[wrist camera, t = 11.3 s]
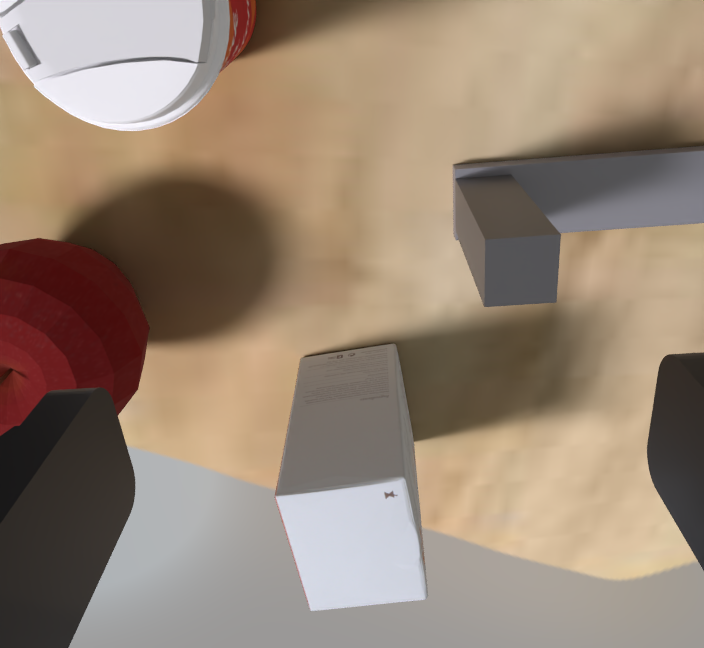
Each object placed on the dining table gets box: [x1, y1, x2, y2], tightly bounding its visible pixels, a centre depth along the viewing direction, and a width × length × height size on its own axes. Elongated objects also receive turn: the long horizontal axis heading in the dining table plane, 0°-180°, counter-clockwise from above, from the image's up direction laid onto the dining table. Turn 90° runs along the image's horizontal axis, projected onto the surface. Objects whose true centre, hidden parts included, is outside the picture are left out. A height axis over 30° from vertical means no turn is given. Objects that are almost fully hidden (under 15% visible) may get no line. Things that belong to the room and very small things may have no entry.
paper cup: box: [0, 0, 256, 131], centre depth 26 cm, size 8×8×14 cm
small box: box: [275, 344, 428, 611], centre depth 37 cm, size 8×6×13 cm
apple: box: [0, 238, 149, 436], centre depth 34 cm, size 11×11×12 cm
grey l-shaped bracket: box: [453, 146, 704, 307], centre depth 31 cm, size 4×18×11 cm, turn 95°
